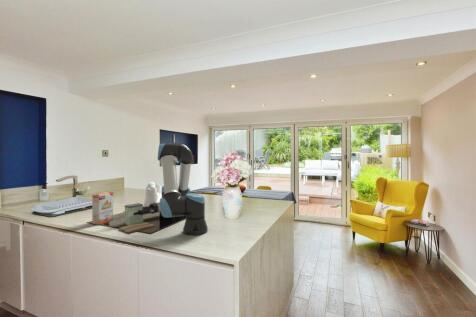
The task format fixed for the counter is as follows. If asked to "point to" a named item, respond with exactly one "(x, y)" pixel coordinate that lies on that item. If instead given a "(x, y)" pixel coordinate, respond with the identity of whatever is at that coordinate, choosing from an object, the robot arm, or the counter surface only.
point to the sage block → (135, 218)
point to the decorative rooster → (152, 194)
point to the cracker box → (102, 207)
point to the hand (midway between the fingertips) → (126, 214)
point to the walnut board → (136, 227)
